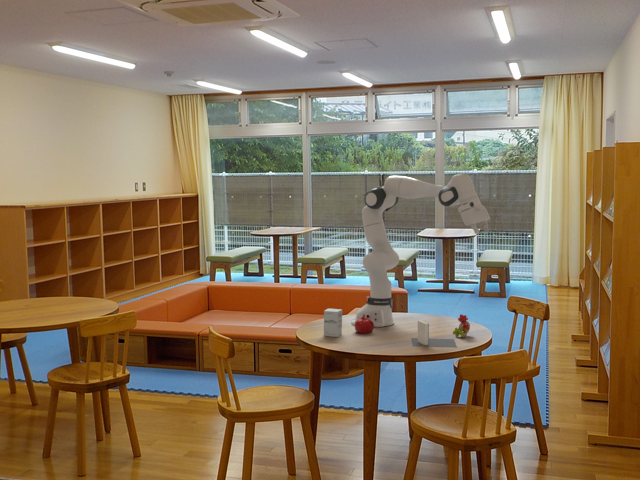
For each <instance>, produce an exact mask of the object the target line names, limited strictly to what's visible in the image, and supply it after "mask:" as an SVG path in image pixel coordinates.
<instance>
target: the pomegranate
mask: <svg viewBox="0 0 640 480" xmlns="http://www.w3.org/2000/svg"><path fill="white" fill-rule="evenodd" d="M358 318H359V317H358ZM367 318H368V317H366V318H365V314H363V316H362V318H361V319H359V320H357V321H356V322H355V325H354V330H355V331H356V333H359V334H364V335H365V334H370V333H372V332H373V331H374V327H375V326H374V323H373V322H372V321H371V320H370V319H367ZM369 318H370V317H369Z"/></svg>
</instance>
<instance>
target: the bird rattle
mask: <svg viewBox="0 0 640 480" xmlns="http://www.w3.org/2000/svg"><path fill="white" fill-rule="evenodd" d="M457 320H458V322H459V323H460V324H459V326H458V327H455V328H454V330H453V332H452V334H453V335H455V337H456V336H457V337H459V336H460V337H462V338H465V337H466V336H467V335H468V334H469V331H470V329H471V325H470V324H471V323H470V322H469V321H468V320H469V318H468V317H467V315H463V314H459V317H458V318H457Z"/></svg>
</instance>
